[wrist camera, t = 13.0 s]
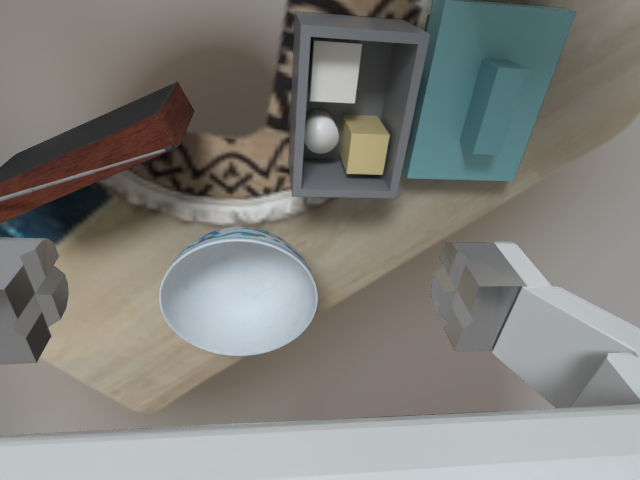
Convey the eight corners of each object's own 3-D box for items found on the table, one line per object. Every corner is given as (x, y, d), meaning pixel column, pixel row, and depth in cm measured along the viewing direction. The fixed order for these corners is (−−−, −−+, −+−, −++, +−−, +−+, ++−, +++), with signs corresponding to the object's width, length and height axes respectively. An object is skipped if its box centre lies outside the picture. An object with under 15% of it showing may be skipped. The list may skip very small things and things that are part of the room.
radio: (40, 182, 40) (-59, 286, 28) (15, 154, 38) (-102, 252, 26) (217, 104, 38) (195, 181, 25) (199, 71, 36) (166, 136, 24)
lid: (433, -4, 34) (460, 4, 30) (557, 7, 36) (600, 16, 31) (399, 166, 43) (416, 193, 38) (500, 169, 44) (528, 196, 39)
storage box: (294, 11, 34) (300, 24, 28) (403, 19, 35) (430, 34, 30) (288, 161, 41) (292, 196, 36) (378, 164, 43) (396, 198, 37)
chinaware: (337, 261, 49) (347, 307, 43) (240, 324, 53) (236, 375, 47) (248, 168, 41) (245, 209, 35) (143, 251, 46) (123, 300, 39)
